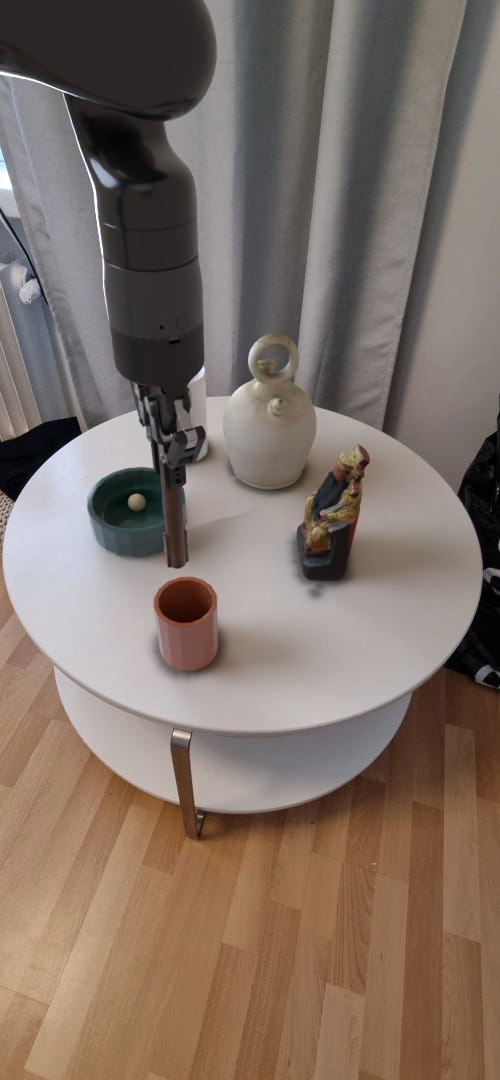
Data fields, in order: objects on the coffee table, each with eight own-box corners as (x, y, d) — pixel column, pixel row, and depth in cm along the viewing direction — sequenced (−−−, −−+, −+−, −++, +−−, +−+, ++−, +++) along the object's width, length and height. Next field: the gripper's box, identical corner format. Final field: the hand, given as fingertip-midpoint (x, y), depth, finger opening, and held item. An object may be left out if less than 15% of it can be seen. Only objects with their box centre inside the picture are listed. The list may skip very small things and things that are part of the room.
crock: (173, 680, 74) (168, 636, 67) (151, 635, 79) (144, 589, 72) (227, 657, 77) (227, 612, 70) (203, 615, 81) (201, 568, 74)
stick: (170, 571, 67) (158, 446, 54) (163, 560, 69) (150, 434, 55) (191, 564, 68) (184, 439, 55) (184, 553, 69) (176, 428, 56)
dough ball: (126, 502, 95) (122, 498, 92) (140, 492, 95) (137, 488, 92) (136, 516, 94) (132, 512, 92) (150, 506, 95) (147, 502, 92)
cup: (191, 469, 103) (186, 389, 91) (153, 453, 105) (144, 374, 94) (216, 444, 108) (214, 366, 96) (179, 430, 110) (173, 352, 99)
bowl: (110, 573, 86) (104, 545, 82) (82, 510, 95) (75, 482, 90) (201, 541, 91) (200, 513, 87) (166, 485, 100) (163, 457, 95)
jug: (231, 436, 110) (232, 306, 91) (313, 446, 108) (331, 316, 90) (215, 490, 99) (213, 356, 81) (306, 502, 98) (324, 368, 80)
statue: (294, 531, 93) (308, 428, 78) (344, 534, 93) (367, 431, 78) (296, 591, 85) (311, 488, 70) (351, 594, 85) (377, 491, 70)
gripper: (83, 285, 49) (112, 449, 62) (141, 363, 41) (160, 534, 54) (166, 270, 52) (177, 431, 64) (237, 341, 43) (234, 510, 56)
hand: (170, 477), depth 59 cm, fingers closed on stick, 2 cm apart
